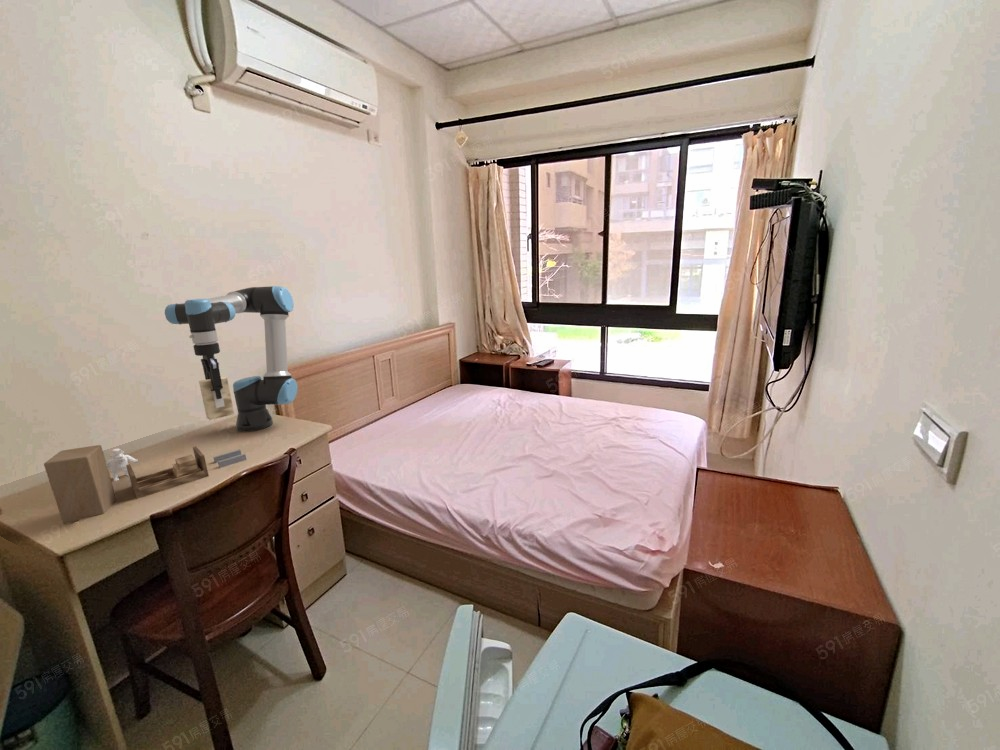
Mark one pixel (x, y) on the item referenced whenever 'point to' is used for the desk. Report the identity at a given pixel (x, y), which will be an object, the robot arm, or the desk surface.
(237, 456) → the holder
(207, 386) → the tan wood slab
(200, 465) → the rack
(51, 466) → the wooden block
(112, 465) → the figurine
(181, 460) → the offcut stack
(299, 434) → the desk surface
